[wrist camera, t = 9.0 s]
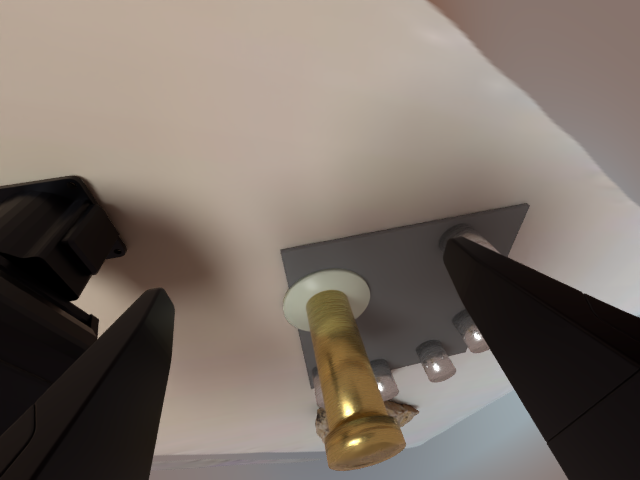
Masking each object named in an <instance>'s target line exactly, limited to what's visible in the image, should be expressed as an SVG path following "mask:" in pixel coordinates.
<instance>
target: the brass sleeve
mask: <svg viewBox="0 0 640 480" xmlns="http://www.w3.org/2000/svg"><path fill="white" fill-rule="evenodd" d="M306 312H307V317H308V323H309V328H310V333H311V338H312V343H313V349H314V354H315V359H316V364H317V369H318V374H319V380H320V385H321V390H322V395H323V400H324V406H325V411H326V416H327V421H328V426H329V431H330V433H329V434H328V435H327V436H326V437H325V439H324V443H325V449H326V455H327V460H328V466H329V468H330V469H333V470H337V471H346V470H354V469H360V468H364V467H368V466H371V465H375V464H377V463H380V462H383V461H385V460H387V459H390V458H391V457H393V456H395V455H397V454H398V453H400V452H401V451H402V450H403V449H404V448H405V446H406V443H405V440H404V437H403V434H402V432H401V429H400V426H399V423H398V421H397V419H396V418H395V417H393V416H389V415H388V413H387V410H386V408H385V405H384V402H383V399H382V396H381V393H380V390H379V387H378V384H377V382H376V379H375V376H374V373H373V370H372V367H371V364H370V361H369V358H368V355H367V353H366V350H365V347H364V344H363V341H362V338H361V335H360V332H359V329H358V327H357V324H356V321H355V318H354V315H353V312H352V309H351V306H350V303H349V300H348V298H347V296H346V294H344V293H343V292H341V291H338V290H326V291H322V292H319V293H317V294H315V295H314V296H312V297H311V298H310V299H309V300H308V302H307V304H306Z"/></svg>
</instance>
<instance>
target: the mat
mask: <svg viewBox="0 0 640 480" xmlns="http://www.w3.org/2000/svg"><path fill="white" fill-rule="evenodd" d="M529 206H530V205H528V204H527V203H526V204H521V205H516V206H510V207H505V208H500V209H494V210H489V211H484V212H478V213H473V214H468V215H462V216H457V217H452V218H447V219H441V220H436V221H431V222H425V223H420V224H415V225H409V226H404V227H399V228H393V229H388V230H383V231H378V232H372V233H367V234H362V235H356V236H351V237H346V238H340V239H335V240H330V241H324V242H319V243H314V244H309V245H303V246H298V247H293V248H287V249H282V250H281V255H282V260H283V264H284V269H285V273H286V278H287V282H288V287H289V288H290V287H291V286H292V285H293V284H294V283H295V282H297V281H298V280H299V279H301V278H303V277H304V276H306V275H308V274H310V273H313V272H316V271H320V270H324V269H332V268H339V269H347V270H350V271H353V272H355V273H357V274H359V275H360V276H361V277H363V279H364V280H365V281H366V283H367V285H368V287H369V290H370V300H369V304H368V306H367V307H366V309H365V310H364V312H363V313H362V314H361V315H360V316H359V317H358V318H356V319H355V321H356V324H357V327H358V329H359V332H360V335H361V338H362V341H363V344H364V347H365V350H366V353H367V355H368V358H369V361H373V360H376V359H384V360H386V361H387V363H388V365H389V368H390V370H392V369H397V368H401V367H405V366H409V365H413V364H418V363H421V362H420V360H419V358H418V356H417V354H416V349H417V347H418V346H419V345H421V344H422V343H424V342H426V341H429V340H438V341H440V343H441V345H442V346H443V348H444V350H445V352H446V353H447V355H448V356H451V355H455V354H460V353H464V352H466V350H467V347H468V346H467V345H466V343H465V342H464V340H463V339H462V337H461V336H460V334H459V332H458V331H457V329H456V328H455V326H454V325H453V323H452V319H453V317H454V316H455V315H456V314H457V313H459V312H460V311H462V310H464V309H466V308H465V307H464V305H463V303H462V301H461V299H460V297H459V295H458V293H457V291H456V289H455V287H454V284H453V282H452V280H451V278H450V276H449V274H448V271H447V269H446V267H445V265H444V262H443V253H442V251H441V250H440V249H439V240H440V238H441V236H442V235H443V234H444V233H445V232H446V231H447V230H448V229H449V228H451V227H453V226H455V225H458V224H463V223H465V224H469V225H471V226H472V227H473V228H474V229H475V230H476V231H477V232H478V233H480V234H481V235H482V236H483V237H484V238H485V239H486V240H487V241H488V242H489V243H490V244H491V245H492V246H493V247H494V248H495V249H496V250H497V251H498V252H499V253H500V254H501V255H504V256H506V257H507V256H508V254H509V252H510V249H511V247H512V245H513V243H514V240H515V238H516V236H517V234H518V231H519V229H520V227H521V224H522V222H523V220H524V218H525V215H526V213H527V211H528V209H529ZM298 331H299V336H300V340H301V345H302V349H303V354H304V358H305V363H306V367H307V371H308V376H309V380H310V385H311V389H313V388H314V384H313V378H312V370H313V368H314V367H316V366H317V364H316V359H315V354H314V349H313V343H312V338H311V333H310V332H309V331H304V330H301V329H298Z"/></svg>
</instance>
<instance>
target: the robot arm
mask: <svg viewBox="0 0 640 480" xmlns="http://www.w3.org/2000/svg"><path fill="white" fill-rule="evenodd" d="M70 182H72V183H74V184H76V186H77V187H76V186H73V185H71V184H70ZM117 249H119V250H121V251H118V250H117ZM126 251H127V247H126V246H125V244H124V243H123V241H122V240H121V238H120V237H119V233H118V231H117V230H116V228H115V227H114V225H113V224H112V222H111V221H110V219H109V218H108V216H107V215H106V213H105V212H104V210H103V209H102V207H101V206H100V205H98V203H97V202H96V200H95V199H94V197H93V196H92V194H91V193H90V191H89V190H88V188H87V187H86V185H85V184H84V182H83V181H82V180H81V179H80V178H78V177H76V176H65V177H59V178H52V179H45V180H39V181H32V182H26V183H19V184H13V185H6V186H0V480H149V475H150V470H151V465H152V459H153V454H154V449H155V444H156V439H157V433H158V428H159V423H160V418H161V412H162V407H163V402H164V396H165V391H166V386H167V381H168V375H169V370H170V364H171V358H172V346H173V331H174V317H175V308H174V305H173V303H172V301H171V300H170V298H169V296H168V295H167V293H166V291H165V290H164V289H163V288H154V289H149V290H147V291H145V292H144V293H143V294H142V295H141V296H140V297H139V298H138V299H137V300H136V301H135V302H134V303H133V304H132V305H131V306H130V307H129V308H128V309H127V310H126V311H125V312H124V313H123V314H122V315H121V316H120V317H119V318H118V319H117V320H116V321H115V322H114V323H113V324H112V325H111V326H110V327H109V328H108V329H107V330H106V331H105V332H104V333H103V334H102V335H101V336H100V337H99V338H98V339H97V335H98V325H99V319H98V318H96V317H95V316H93V315H92V314H90V315H89V314H87V313H86V312H84V311H83V310H81V309H80V308H78V307H77V306H75V305H74V304H72V303H71V302H69V301H74V300H77V299H78V298H79V296H80V295H81V293H82V291H83V289H84V288H85V286H86V284H87V283H88V281H89V279H90V278H91V276H92V275H96V274H97V273H98V271H99V269H100V268H101V266H102V264H103V263H104V261H105V259H110V258H116V257H121V256H124V255H125V253H126ZM443 262H444V265H445V267H446V269H447V271H448V274H449V276H450V278H451V280H452V282H453V284H454V287H455V289H456V291H457V293H458V295H459V297H460V299H461V301H462V303H463V305H464V307H465V308H466V310H467V312H468V313H469V315H470V317H471V318H472V320H473V322H474V323H475V325H476V327H477V328H478V330H479V332H480V333H481V335H482V337H483V338H484V340H485V342H486V343H487V345H488V347H489V348H490V350H491V351H492V353H493V355H494V356H495V358H496V360H497V361H498V363H499V365H500V366H501V368H502V370H503V371H504V373H505V375H506V376H507V378H508V380H509V381H510V383H511V385H512V386H513V388H514V390H515V391H516V393H517V394H518V396H519V398H520V400H521V401H522V403H523V405H524V406H525V408H526V410H527V411H528V413H529V414H530V416H531V418H532V419H533V421H534V423H535V424H536V426H537V428H538V429H539V431H540V433H541V434H542V436H543V437H544V439H545V441H546V442H547V445H548V446H549V448H550V450H551V451H552V453H553V454H554V456H555V458H556V460H557V461H558V463H559V464H560V466H561V468H562V469H563V471H564V473H565V475H566V476H567V478H568V480H640V318H639V317H636V316H634V315H632V314H629V313H627V312H625V311H622V310H620V309H618V308H616V307H613V306H611V305H609V304H607V303H605V302H602V301H600V300H598V299H596V298H594V297H592V296H589V295H587V294H583V293H582V292H581V291H579V290H576V289H574V288H572V287H570V286H568V285H566V284H564V283H561V282H559V281H557V280H555V279H553V278H551V277H549V276H546V275H544V274H542V273H540V272H538V271H536V270H534V269H531V268H529V267H527V266H525V265H523V264H521V263H519V262H516V261H514V260H512V259H510V258H508V257H506V256H504V255H501V254H499V253H497V252H495V251H493V250H491V249H489V248H486V247H484V246H482V245H480V244H478V243H476V242H474V241H471V240H469V239H467V238H465V237H463V236H457V237H452V238H449V239H448V240H447V243H446V247H445V251H444V254H443Z"/></svg>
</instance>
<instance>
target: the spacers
mask: <svg viewBox="0 0 640 480" xmlns="http://www.w3.org/2000/svg"><path fill="white" fill-rule="evenodd" d="M457 236H463V237H465V238H467V239H469V240H471V241H474V242H476V243H478V244H480V245H482V246H484V247H486V248H489V249H491V250H493V251H495V252H497V253H499V252H498V251H497V250H496V249H495V248H494V247H493V246H492V245H491V244H490V243H489V242H488V241H487V240H486V239H485V238H484V237H483V236H482V235H481V234H480V233H478V232H477V231H476V230H475V229H474V228H473V227H472V226H471V225H469V224H465V223H463V224H458V225H455V226H453V227H451V228H449V229H448V230H447V231H446V232H445V233H444V234H443V235H442V236H441V238H440V240H439V249H440V250H441V251H442V253H443V254H444V251H445V247H446V243H447V240H448V239H449V238H452V237H457ZM499 254H500V253H499ZM452 323H453V325H454V326H455V328H456V329H457V331H458V332H459V334H460V336H461V337H462V339H463V340H464V342H465V343H466V345H467V346H468V348H469V349H470V351H471V352H473V353H480V352H484V351H486V350H489V349H490V348H489V347H488V345H487V343H486V342H485V340H484V338H483V337H482V335H481V333H480V332H479V330H478V328H477V327H476V325H475V323H474V322H473V320H472V318H471V317H470V315H469V313H468V312H467V310H466V309H464V310H462V311H460V312H459V313H457V314H456V315H455V316H454V317H453V319H452ZM416 354H417V356H418V358H419V360H420V362H421V364H422V366H423V368H424V370H425V372H426V374H427V376H428V378H429V380H430V381H431V382H441V381H444V380H446V379H448V378H450V377H452V376H453V375H454V374H455V373H456V369H455V367H454V365H453V364H452V362H451V360H450V358H449V357H448V355H447V353H446V352H445V350H444V348H443V346H442V345H441V343H440V341H438V340H429V341H426V342H424V343H422V344H421V345H419V346H418V347H417V349H416ZM370 364H371V367H372V370H373V373H374V376H375V379H376V382H377V384H378V387H379V390H380V393H381V396H382V399H383V401H386V400H389V399H392V398H393V397H395V396H396V395H397V394H398V392H399V390H398V388H397V385H396V383H395V380H394V378H393V375H392V373H391V370H390V368H389V365H388V363H387V361H386V360H384V359H376V360H373V361H370ZM312 378H313V384H314V389H315V395H316V401H317V405H318V406H319V407H322V408H325V406H324V400H323V395H322V390H321V385H320V380H319V374H318V369H317V366H316V367H314V368H313V370H312Z"/></svg>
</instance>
